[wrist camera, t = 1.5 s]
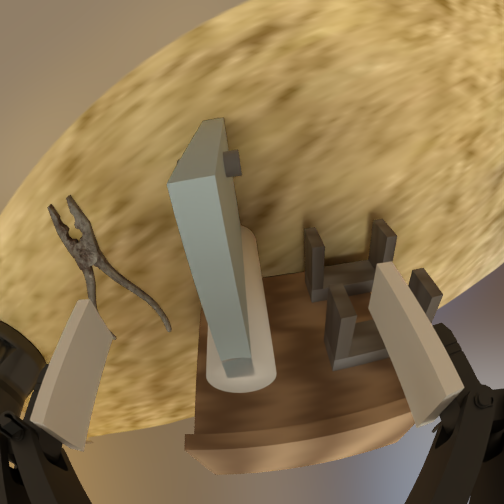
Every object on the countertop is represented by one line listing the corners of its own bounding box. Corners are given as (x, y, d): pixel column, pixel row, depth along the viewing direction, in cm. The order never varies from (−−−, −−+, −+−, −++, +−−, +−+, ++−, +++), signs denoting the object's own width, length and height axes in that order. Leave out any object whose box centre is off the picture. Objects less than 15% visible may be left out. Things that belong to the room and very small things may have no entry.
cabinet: (215, 337, 34) (215, 474, 20) (183, 236, 26) (151, 419, 12) (360, 315, 34) (408, 437, 20) (375, 211, 26) (480, 352, 12)
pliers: (121, 348, 34) (17, 235, 24) (123, 343, 35) (20, 231, 24) (178, 330, 33) (65, 192, 22) (179, 325, 33) (69, 188, 23)
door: (217, 263, 28) (214, 395, 17) (187, 123, 20) (133, 190, 9) (258, 258, 28) (278, 388, 17) (239, 115, 20) (252, 170, 9)
